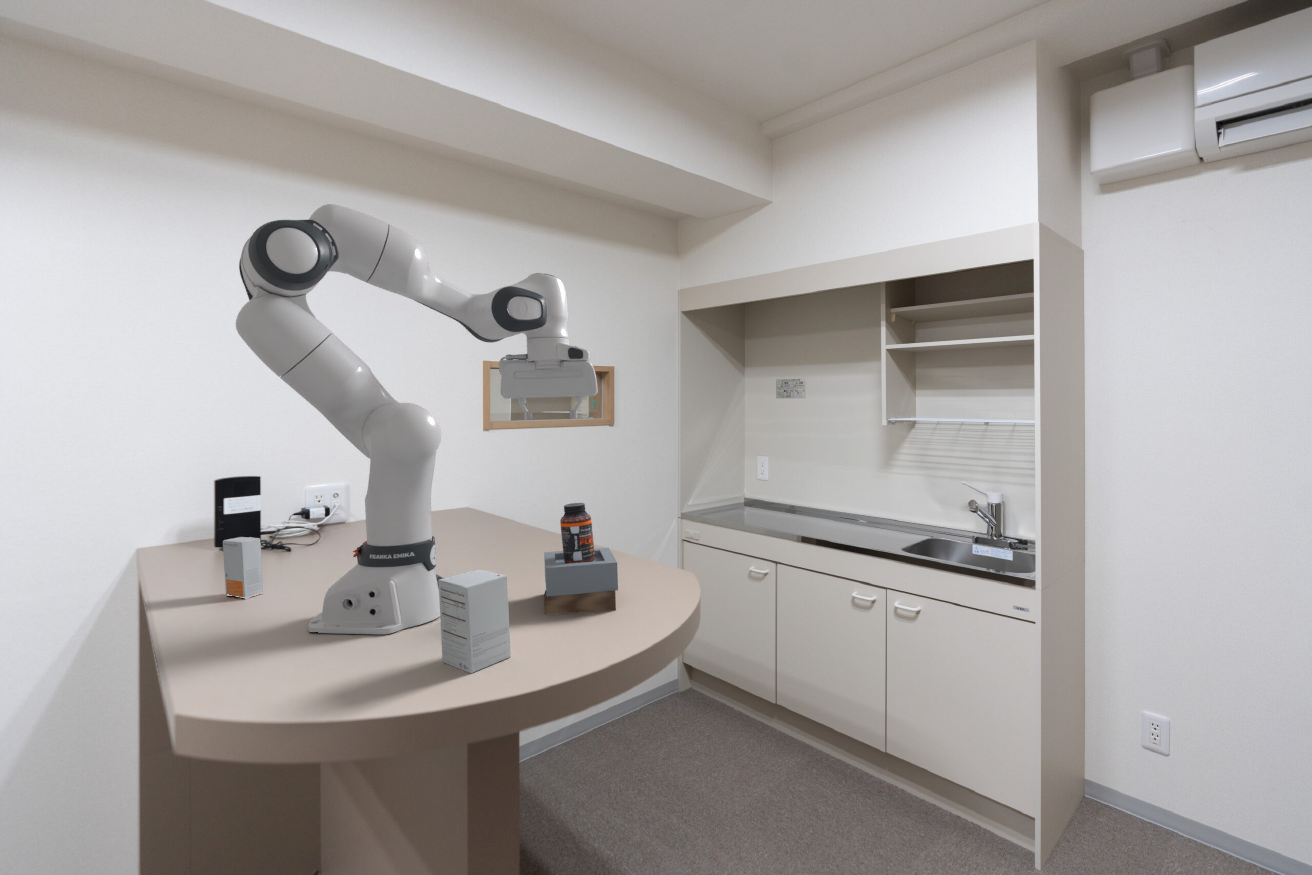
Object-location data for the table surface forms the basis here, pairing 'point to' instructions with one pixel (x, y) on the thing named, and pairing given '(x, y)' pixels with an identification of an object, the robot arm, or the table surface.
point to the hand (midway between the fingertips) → (550, 419)
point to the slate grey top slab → (580, 574)
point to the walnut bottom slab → (580, 602)
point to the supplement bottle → (577, 534)
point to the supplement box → (474, 619)
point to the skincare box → (243, 566)
